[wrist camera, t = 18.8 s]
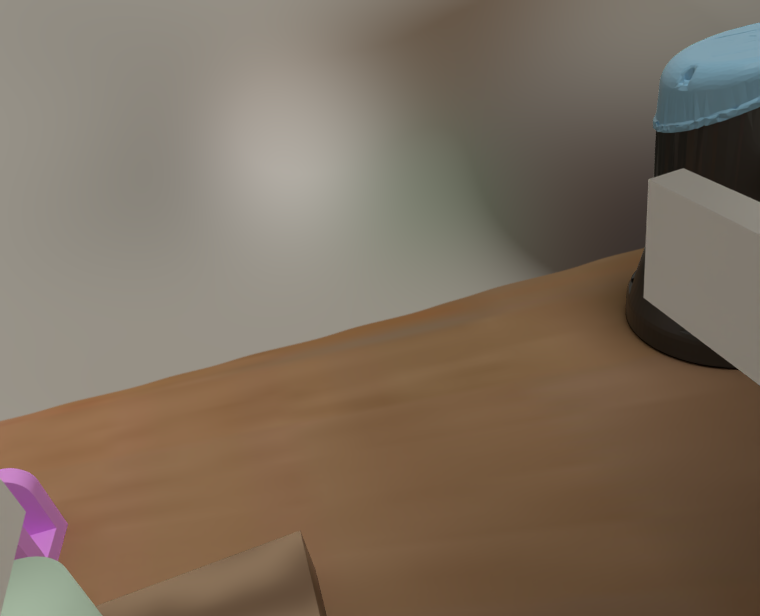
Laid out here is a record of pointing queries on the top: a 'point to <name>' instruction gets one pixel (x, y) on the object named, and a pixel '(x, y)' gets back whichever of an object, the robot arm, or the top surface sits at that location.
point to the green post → (44, 590)
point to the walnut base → (235, 586)
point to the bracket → (35, 516)
